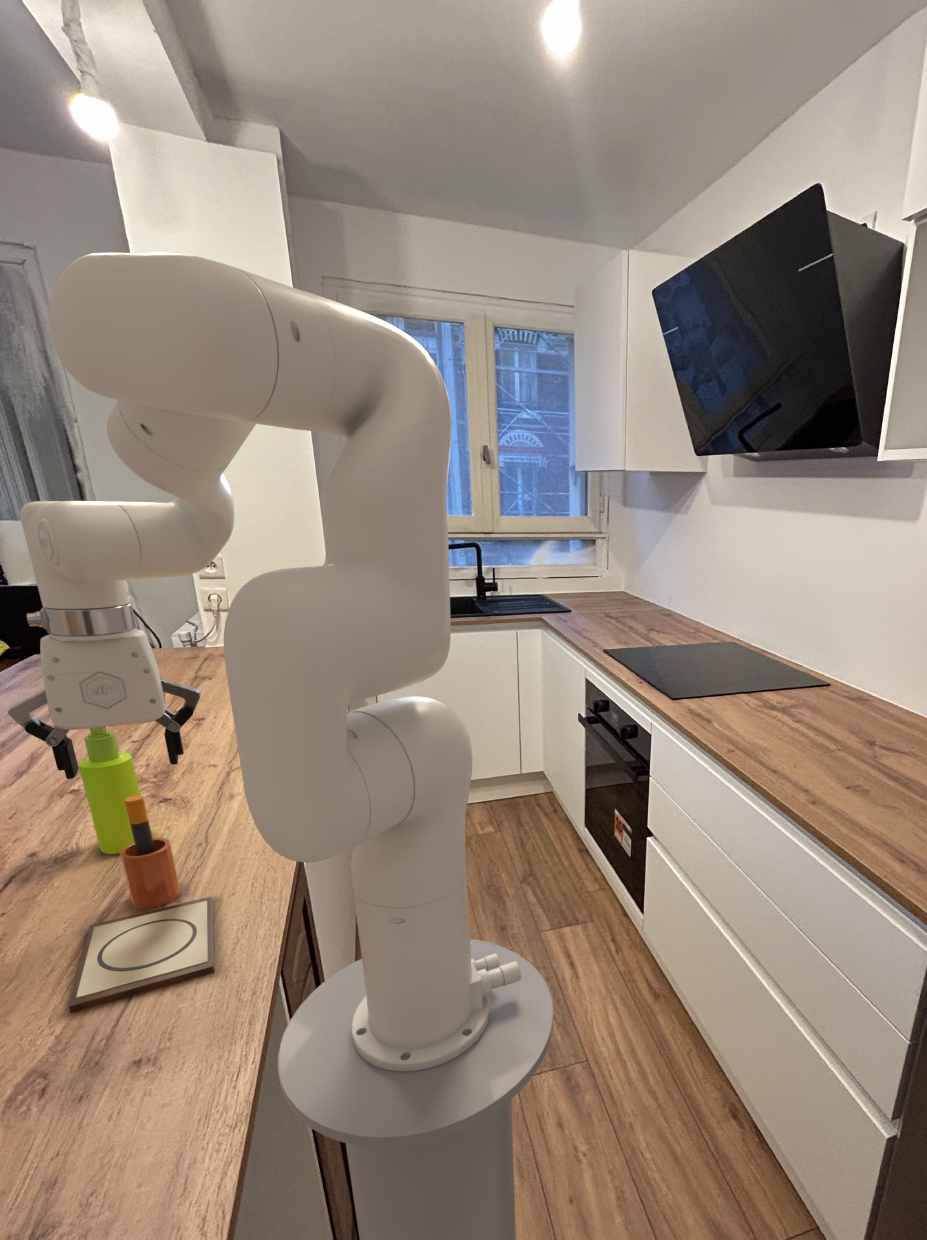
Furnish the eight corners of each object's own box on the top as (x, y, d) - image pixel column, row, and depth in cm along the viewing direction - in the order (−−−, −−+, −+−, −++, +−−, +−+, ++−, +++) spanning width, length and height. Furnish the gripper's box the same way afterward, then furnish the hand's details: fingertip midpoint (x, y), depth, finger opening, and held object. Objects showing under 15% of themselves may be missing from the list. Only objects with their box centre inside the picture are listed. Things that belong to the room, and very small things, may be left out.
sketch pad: (212, 901, 80) (211, 895, 80) (214, 972, 68) (213, 964, 68) (91, 930, 74) (89, 923, 74) (70, 1013, 62) (67, 1005, 62)
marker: (164, 887, 82) (143, 794, 78) (164, 894, 80) (142, 799, 76) (147, 891, 81) (125, 797, 77) (146, 898, 80) (123, 802, 75)
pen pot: (181, 882, 84) (170, 834, 82) (179, 901, 80) (168, 851, 78) (134, 892, 82) (122, 843, 79) (130, 912, 78) (117, 861, 75)
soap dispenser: (155, 847, 92) (125, 714, 86) (96, 857, 89) (59, 720, 83) (162, 830, 97) (133, 703, 91) (105, 838, 94) (72, 708, 88)
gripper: (-26, 632, 62) (21, 793, 68) (186, 623, 71) (212, 766, 77) (-6, 620, 69) (35, 769, 74) (187, 613, 77) (211, 746, 83)
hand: (125, 767), depth 75 cm, fingers open, 9 cm apart
